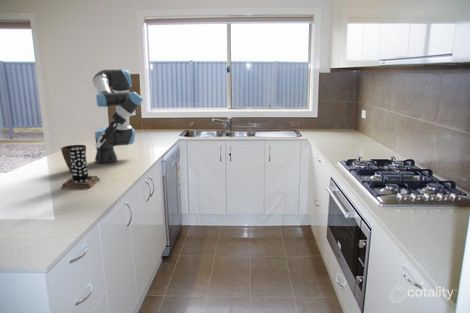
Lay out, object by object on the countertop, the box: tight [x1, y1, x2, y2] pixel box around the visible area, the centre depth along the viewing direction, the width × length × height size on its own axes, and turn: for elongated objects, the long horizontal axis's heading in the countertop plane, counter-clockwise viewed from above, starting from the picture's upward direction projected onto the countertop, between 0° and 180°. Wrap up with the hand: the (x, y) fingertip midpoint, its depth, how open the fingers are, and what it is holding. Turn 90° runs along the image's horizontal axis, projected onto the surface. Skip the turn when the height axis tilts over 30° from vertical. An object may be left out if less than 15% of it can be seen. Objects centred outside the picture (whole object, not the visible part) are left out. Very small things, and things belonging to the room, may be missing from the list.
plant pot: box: [60, 144, 87, 173], centre depth 231 cm, size 15×15×16 cm
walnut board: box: [60, 175, 101, 190], centre depth 205 cm, size 16×16×3 cm
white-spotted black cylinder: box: [69, 147, 89, 183], centre depth 203 cm, size 8×8×20 cm
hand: (97, 144), depth 204 cm, fingers open, 13 cm apart
